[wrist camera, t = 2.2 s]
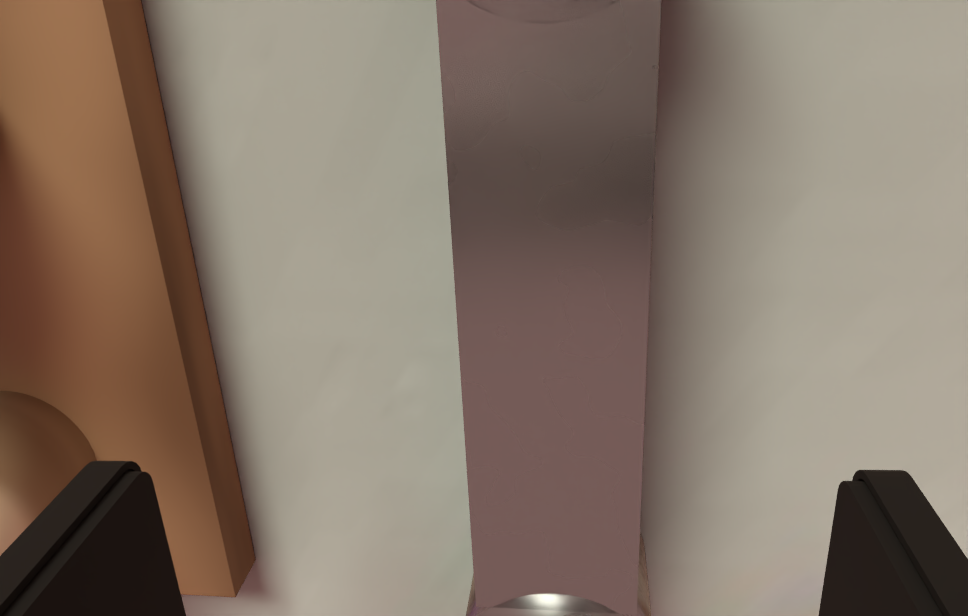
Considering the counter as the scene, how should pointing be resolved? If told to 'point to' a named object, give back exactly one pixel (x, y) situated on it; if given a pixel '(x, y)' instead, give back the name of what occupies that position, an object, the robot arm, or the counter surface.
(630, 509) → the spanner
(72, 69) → the tool rest
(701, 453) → the counter surface
